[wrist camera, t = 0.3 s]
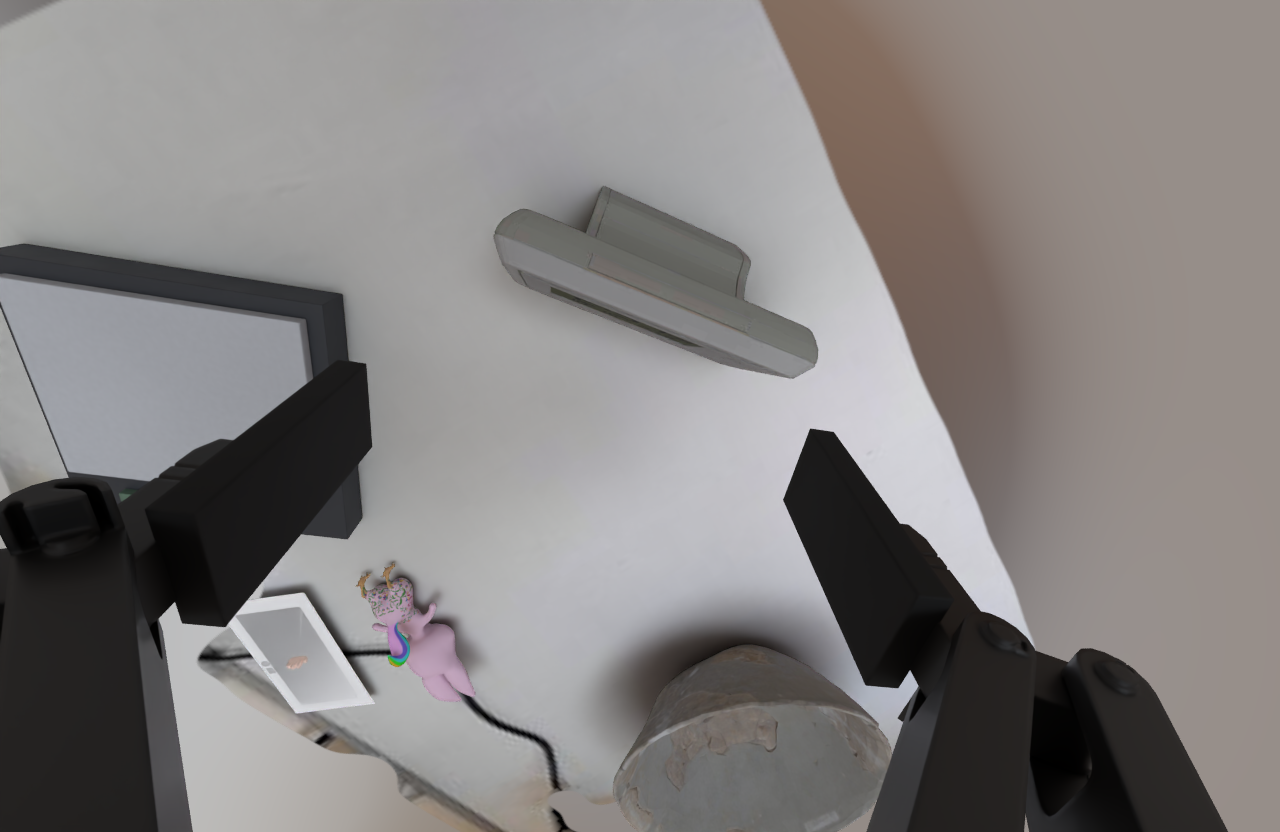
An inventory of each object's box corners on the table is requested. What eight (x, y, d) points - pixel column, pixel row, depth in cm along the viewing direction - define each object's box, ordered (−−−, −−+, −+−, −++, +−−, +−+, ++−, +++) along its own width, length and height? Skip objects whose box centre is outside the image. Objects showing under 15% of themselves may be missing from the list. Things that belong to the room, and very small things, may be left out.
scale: (23, 243, 31) (-40, 254, 28) (342, 293, 33) (315, 309, 30) (111, 489, 39) (70, 517, 36) (362, 518, 41) (342, 547, 38)
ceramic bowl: (895, 647, 50) (953, 756, 41) (749, 766, 59) (771, 876, 50) (707, 559, 44) (728, 665, 35) (576, 706, 53) (567, 820, 44)
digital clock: (498, 262, 32) (447, 314, 23) (574, 123, 29) (551, 116, 19) (706, 393, 37) (736, 482, 27) (793, 287, 33) (860, 346, 24)
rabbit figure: (357, 568, 45) (444, 692, 49) (313, 616, 39) (417, 751, 44) (418, 545, 44) (502, 673, 48) (382, 591, 38) (481, 731, 43)
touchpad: (310, 582, 44) (296, 602, 42) (379, 692, 51) (369, 714, 49) (222, 594, 44) (204, 615, 42) (302, 702, 51) (290, 724, 49)
